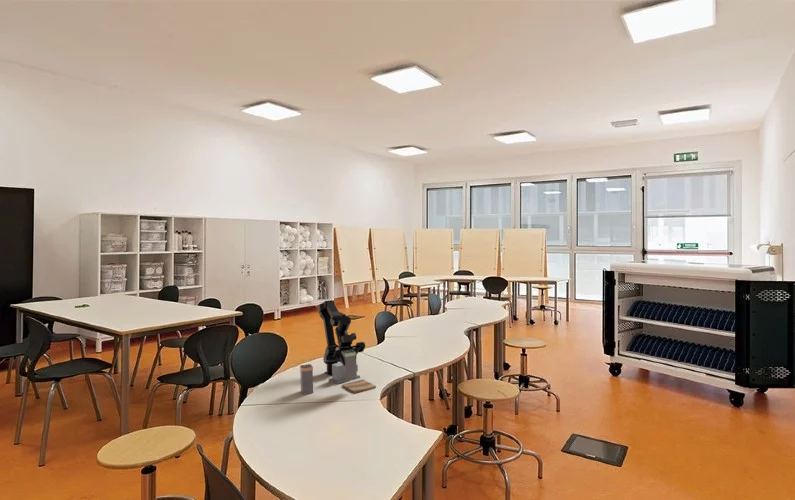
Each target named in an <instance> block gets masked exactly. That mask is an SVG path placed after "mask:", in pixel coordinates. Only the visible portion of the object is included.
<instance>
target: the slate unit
mask: <svg viewBox="0 0 795 500" xmlns="http://www.w3.org/2000/svg"><path fill="white" fill-rule="evenodd" d="M358 372H359V364H357V361H356V378H354V379H348V380H346V379H345V378H344V377H343V364H342V363H341V362H338V363H336V364H332V375H331V376H332V377H329V378H328V381H330V382H332V383H334V384H337V385H340V384H345V383H346V382H347V383H348V382H350V381H355V380H357V379H359V378H361V375H359V374H358Z"/></svg>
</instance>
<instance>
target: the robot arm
mask: <svg viewBox="0 0 795 500" xmlns="http://www.w3.org/2000/svg"><path fill="white" fill-rule="evenodd" d="M317 312H318V315H319V317H320V318H321V320H323V326H324V334H325V339H326V347H325V349H324V355H323V363H324V364H325V365H326V371H324V373H325V374H326V375H329V376H332V364H336V363H339V362H341V363H342V364H343V365H344V366H345V362H344V358H343V355H342V351H346V350H353V351H355V352H356V357H357V356H358V354H359V353H363V352H364V350H365V348H366V347H367V346H366V343H365V342H364V341H357V342H356V343H355V345H353V342H354V341H355V340H357V335H356V332H352V333H351V334H349V332H348V330H349V328H350V325H351V323H352V319H351V318H350V317H349V316H348V315H346V313H343V312H341V311H339V309H338V308H337V306H336V304H335V300H333V299H331V300H330V299H329V300H325V301H323V302H321V303H320V304H319V305H318V306H317ZM333 327H335V329H334V328H333ZM334 331H335V332H334ZM335 334H336V335H335ZM335 336H336V337H335ZM335 338H336V339H337V342H336V339H335Z"/></svg>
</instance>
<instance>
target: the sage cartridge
mask: <svg viewBox="0 0 795 500" xmlns="http://www.w3.org/2000/svg"><path fill="white" fill-rule="evenodd" d="M342 355H343V358H344V362H345V366H344V365H343V377H344V378H345V379H346V380H348V379H354V378H356V362H357V356H356V352H355V351H353V350H346V351H342ZM354 380H355V379H354Z"/></svg>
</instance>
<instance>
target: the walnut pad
mask: <svg viewBox="0 0 795 500" xmlns="http://www.w3.org/2000/svg"><path fill="white" fill-rule="evenodd" d="M341 387H342V388H344V389H346V390H348V391H349V392H351V393H353V394H359V393H362V392H366V391H369V390H370V391H371V390H373V389H376V388H377V386H376V385H374V384H373V383H371V382H369V381H368V380H365V379H359V380H356V381H355V380H354V381H352V382H347V383H342V385H341Z"/></svg>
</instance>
